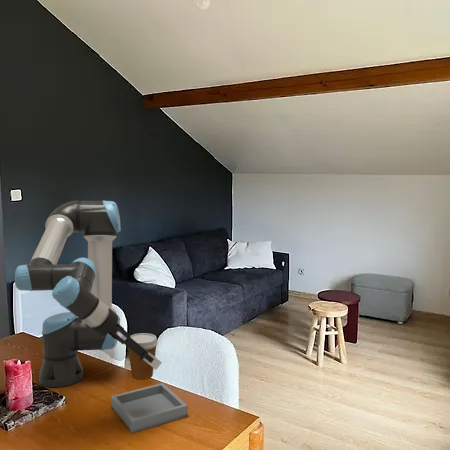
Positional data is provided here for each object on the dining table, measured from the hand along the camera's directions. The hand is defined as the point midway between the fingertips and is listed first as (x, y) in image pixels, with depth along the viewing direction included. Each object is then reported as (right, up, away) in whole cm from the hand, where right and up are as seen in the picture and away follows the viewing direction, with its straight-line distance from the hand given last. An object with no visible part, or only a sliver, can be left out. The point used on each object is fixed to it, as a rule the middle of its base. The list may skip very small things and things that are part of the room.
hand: (152, 360), depth 145 cm
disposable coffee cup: (-3, -5, -1) cm, 6 cm away
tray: (-1, -17, +2) cm, 17 cm away
